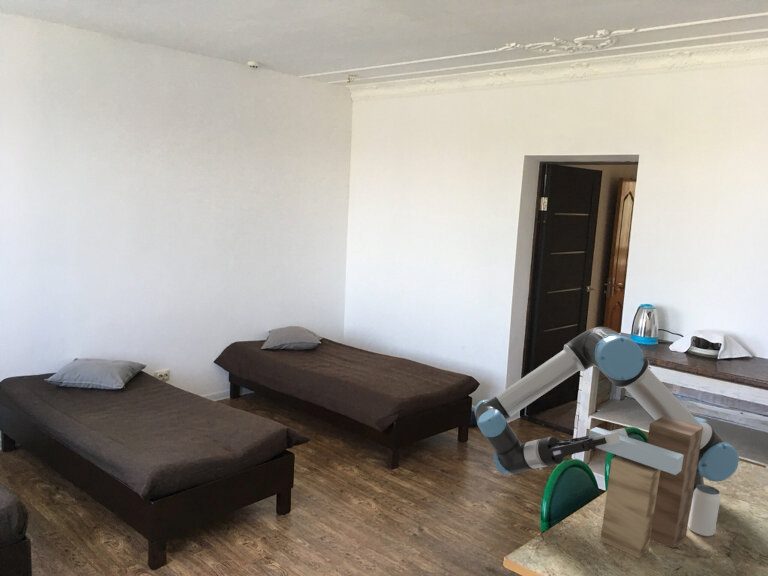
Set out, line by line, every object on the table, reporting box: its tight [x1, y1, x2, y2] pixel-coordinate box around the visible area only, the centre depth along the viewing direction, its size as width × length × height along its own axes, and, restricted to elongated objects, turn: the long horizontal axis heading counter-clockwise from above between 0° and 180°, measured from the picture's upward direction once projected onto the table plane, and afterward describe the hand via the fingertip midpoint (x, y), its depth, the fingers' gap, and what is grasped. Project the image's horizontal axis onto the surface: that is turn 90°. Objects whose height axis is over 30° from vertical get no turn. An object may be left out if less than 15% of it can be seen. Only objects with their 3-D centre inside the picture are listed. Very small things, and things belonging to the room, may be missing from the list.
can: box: [687, 484, 721, 538], centre depth 168 cm, size 6×6×12 cm
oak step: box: [600, 455, 660, 559], centre depth 156 cm, size 6×10×22 cm, turn 47°
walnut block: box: [646, 416, 703, 549], centre depth 163 cm, size 10×10×30 cm
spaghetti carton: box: [588, 426, 684, 475], centre depth 155 cm, size 22×4×4 cm, turn 47°
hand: (622, 435), depth 157 cm, fingers closed on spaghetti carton, 4 cm apart
